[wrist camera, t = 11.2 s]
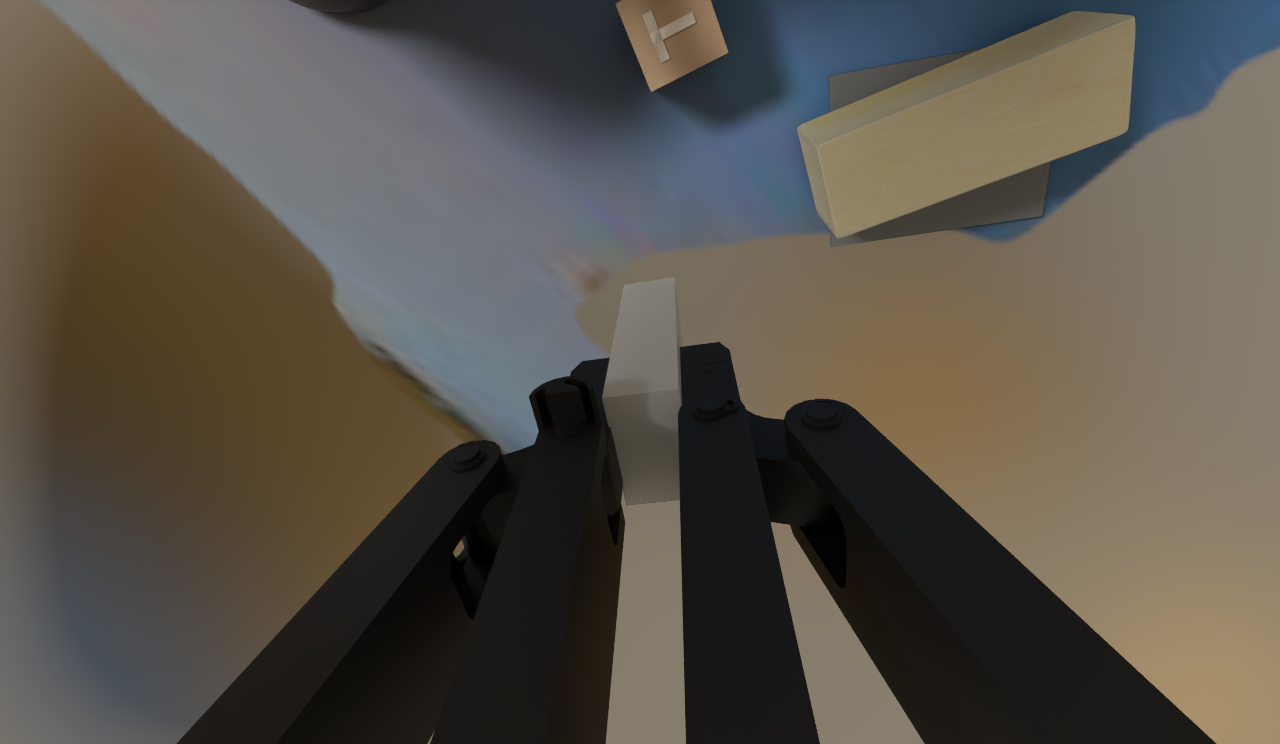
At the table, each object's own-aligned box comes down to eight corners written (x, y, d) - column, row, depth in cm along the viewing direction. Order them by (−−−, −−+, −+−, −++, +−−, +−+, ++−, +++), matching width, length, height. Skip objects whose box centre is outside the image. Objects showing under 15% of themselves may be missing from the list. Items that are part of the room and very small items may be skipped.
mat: (830, 245, 52) (831, 246, 52) (828, 75, 46) (829, 75, 46) (1039, 215, 50) (1042, 216, 50) (1068, 32, 44) (1071, 32, 44)
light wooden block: (814, 211, 51) (1068, 112, 47) (837, 242, 45) (1132, 133, 41) (792, 124, 47) (1068, 6, 42) (814, 146, 41) (1139, 11, 36)
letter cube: (652, 89, 47) (650, 92, 42) (621, 11, 45) (615, 3, 39) (721, 54, 46) (728, 52, 40) (692, -29, 43) (696, -42, 38)
